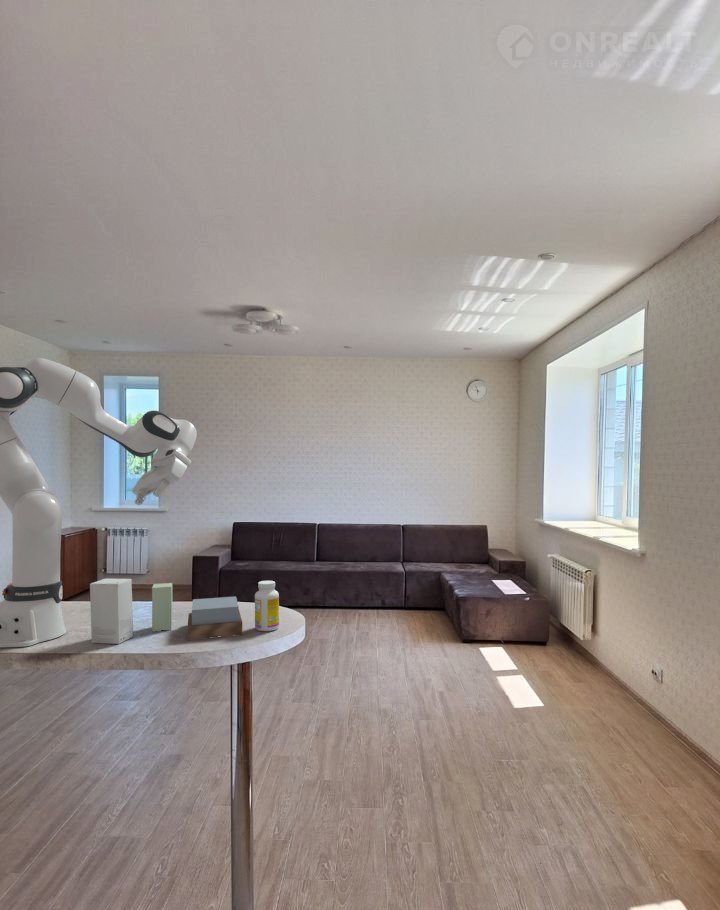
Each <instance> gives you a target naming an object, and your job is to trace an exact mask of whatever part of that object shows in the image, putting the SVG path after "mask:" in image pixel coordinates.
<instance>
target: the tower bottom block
mask: <svg viewBox="0 0 720 910" xmlns="http://www.w3.org/2000/svg"><path fill="white" fill-rule="evenodd" d="M187 616H188V618H187V641H195V639H197V640H203V639H202V638H208V639H211V638H210V637H218V636H229V637H234V636H233V635H240V636H243V620H242V616H241V612H240V611H239V622H227V623H215V624H203V625H192V612H188V615H187Z"/></svg>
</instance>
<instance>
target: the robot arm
mask: <svg viewBox="0 0 720 910" xmlns="http://www.w3.org/2000/svg"><path fill="white" fill-rule="evenodd" d="M32 398H34V399H35V398H37V399H42V400H46V401H48V402H50V403H52V404H54V405H55V406H58V407H60V408H63V409H64V410H66V411H67V412H69V413H70V414H72V415H74V416H76V418H77V419H78V420H79V421H81V422H82V423H83V425H86V426H88V427H89V428H91V429H93V430H95V431H96V432H98V433H100V434H102V435H103V436H105V437H107V438H108V439H110V440H113V441H114V442H116V443H117V444H119V445H120V446H121V447H123V448H124V449H125V450H126V451H127V452H129V453H130V454H131V455H133V456H135V457H137V458H138V457H139V458H147V457H150V456H152V455H153V454H154V453H155V454H154V456H153V457H152V459H151V461H150V466H151V469H150V470H148V471H146V472H145V473H143V474H142V475H141V477H139V479H138V480H137V482H136V483H135V485H134V486H133V488H132V494H134V496H136V498H135V500H134V504H136V505H137V506H141V505H143V503H144V502H145V498H146V497H147V496H149V495H151V494H152V495H153V496H155V497H156V498H158V497H160V496H162V494H163V492H164V491H165V490H166V489H167V488H168V487H169V486H171V485H173V484H175V483H177V482H179V481H180V480H181V479H182V478H183V475H184V474H185V473H186V471H187V469H188V468H189V467H190V466H191V464H192V460H191V459H190V458H189V457H188V456H189V455H190V454H191V452H192V450H193V447H194V446H195V443H196V440H197V436H198V432H197V428H196V427H195V426H194V424H193V423H192V422H190V421H189V420H187V419H182V418H181V419H176V418H172V417H170V416H168V415H167V414H165V413H163V412H162V411H160V410H149V411H147V412H145V413H144V415H142V416H141V417H140V418H139V419H138V420H137V422H136V423H135V424H134V425H129V424H126V423H125V422H123V421H121V420H119V419H118V418H116V417H114V416H113V415H111V414H110V413H108V412H106V411H105V410H104V409H103V406H102V403H101V402H102V401H101V391H100V388H99V386H98V384H97V383H96V381H95V380H93V379H92V378H91V377H89V376H87V374H84V373H82V372H81V371H80V372H79V371H78V370H76V369H73V368H71V367H69V366H67V365H65V364H63V363H59V362H57V361H54V360H51V359H46V358H43V357H36V358H33V359H32V360H30V361H29V362H27V363H26V364H25V366H22V367H21V366H0V498H1V499H2V501H3V503H4V504H5V505H6V507H7V509H8V511H10V513H11V515H12V565H11V566H12V567H11V568H12V571H11V573H12V581H11V583H9V584H8V585H6V587H5V588H3V590H2V591H1V592H2V593H1V596H3V600H1V601H0V648H19V647H21V648H22V647H30V646H33V645H35V644H39V643H43V642H45V641H46V642H47V641H50V640H53V639H56V638H59V637H62V636H63V635H65V634H66V633H67V631H68V630H67V628H66V625H65V620H64V617H63V610H62V601H63V600H62V599H63V581H62V580H61V545H62V544H61V543H62V526H63V525H62V522H63V521H62V520H63V509H62V508H63V507H62V504H61V501H59V499H58V498H57V497H56V496H55V493H53V491H52V490H51V488H50V486H49V485H48V483H47V481H46V479H45V478H44V476H43V474H42V473H41V471H40V470H39V468H38V467H37V466H38V465H36V463H35V461H34V460H33V458H32V456H31V455H30V453H29V452H28V450H27V449H26V447H25V445H24V444H23V442H22V441H21V439H20V438H19V436H18V434H17V432H16V431H15V430H14V429H13V426H12V424H11V420H10V416H11V415H13V414H14V413H15V412H17V411H18V410H19V409H21V408H23V407H24V405H25V404H26V403H27V401H28V400H29V399H32Z"/></svg>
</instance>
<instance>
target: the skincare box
mask: <svg viewBox="0 0 720 910" xmlns="http://www.w3.org/2000/svg"><path fill="white" fill-rule="evenodd" d="M132 582H133V579H132V578H103V579H100V580H98V581H94V582H91V583H90V584H89V597H90V600H89V601H90V627H91V628H90V629H91V631H90V633H91V635H90V636H91V644H111V645H121V644H122V643H124V642H126V641H128V640H129V639H132V638H133V637H134V622H133V621H134V619H133V617H134V615H133V590H132V589H133V583H132Z"/></svg>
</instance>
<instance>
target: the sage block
mask: <svg viewBox="0 0 720 910" xmlns="http://www.w3.org/2000/svg"><path fill="white" fill-rule="evenodd" d="M151 593H152V594H151V595H152V596H151V602H152V603H151V632H152V631H157V632H162V631H161V630H168V631H172V630H171V629H173V582H168V583H167V582H166V583H153V585H152V587H151Z"/></svg>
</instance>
